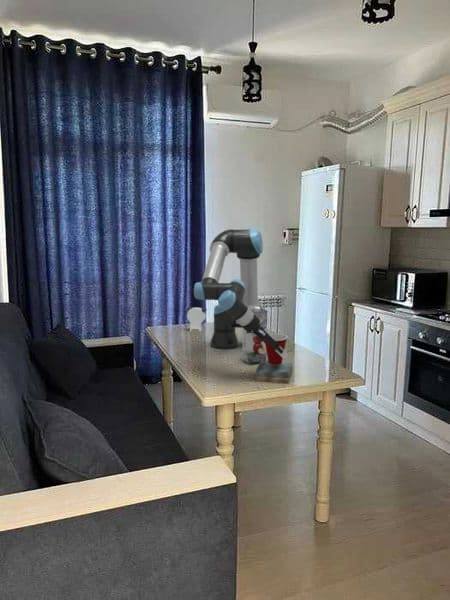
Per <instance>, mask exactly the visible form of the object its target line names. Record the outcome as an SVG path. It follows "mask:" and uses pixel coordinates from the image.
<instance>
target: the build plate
mask: <svg viewBox="0 0 450 600" xmlns="http://www.w3.org/2000/svg"><path fill="white" fill-rule="evenodd" d="M292 372H293V362H285V361H284V362H283V361H282V363H281V364H279V365H272V364H269V362H268V360H266V361H261V362H260V363H258V366H257V368H256V369H255V377H254V381H255V382H262V383H263V382H264V383H274V384H275V383H276V384H287V385H289V382H290V378H291V376H292Z"/></svg>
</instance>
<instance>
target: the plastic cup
mask: <svg viewBox="0 0 450 600" xmlns="http://www.w3.org/2000/svg"><path fill="white" fill-rule="evenodd" d="M269 335H270V336H271V337H272V338H273V339H274V340H275V341H276V342H277V343H278V344H279V345H280V347H281V348H282V349H283V350H284V351H285V348H286V344H287V339H288V337H289V336H288V335H287V334H279V333H278V334H276V333H275V334H269ZM264 342H265V345H266V351H267V354H266V357H267V361H268V362H269V364H272V365H279V364H281V363H282V362H283V360H284V359H283V358H282V357H281V356H280V355H279V354H278V353H277V352H276V351H273V350H274V348H273V347H272V346H271V345H269V344H268V343H267V342H266V341H265V340H264Z"/></svg>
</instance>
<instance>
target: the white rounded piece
mask: <svg viewBox="0 0 450 600" xmlns="http://www.w3.org/2000/svg"><path fill="white" fill-rule="evenodd" d="M186 310H187V311H188V312H187V315H186V317H187V320H188V321H189V329H190V331H191V330H192V329H199V331H201V330H202V329H203V328H202V326H203V325H204V321H205V320H206V318H207V314H206V313H207V308H206V307H203V308H202V307H191V306H188V307H187V309H186Z"/></svg>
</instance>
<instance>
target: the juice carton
mask: <svg viewBox="0 0 450 600" xmlns="http://www.w3.org/2000/svg"><path fill="white" fill-rule="evenodd" d="M250 310H251V311H252V312H253V313H254V315H256V316H257V317H258V318H259V319H260V323H259V326H260V327H262V328H263V329H264V330H265V331H266V332H267V333H268V310H267V309H265V308H263V309H262V308H260V307H254V309H250ZM242 359H243V361H244V362H245V363H247V364H249V365H255V364H260V362H261V361H267V351H266V345H265V343H264V342H263V341H261V339H260V338H259V337H258V336H257V335H256V334H254V333H253V331H252V332H247V331H246V330H245V329H244V328H242Z"/></svg>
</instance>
